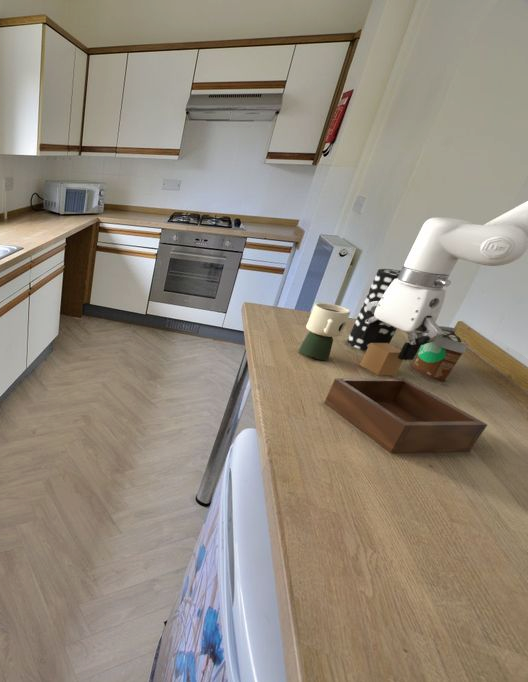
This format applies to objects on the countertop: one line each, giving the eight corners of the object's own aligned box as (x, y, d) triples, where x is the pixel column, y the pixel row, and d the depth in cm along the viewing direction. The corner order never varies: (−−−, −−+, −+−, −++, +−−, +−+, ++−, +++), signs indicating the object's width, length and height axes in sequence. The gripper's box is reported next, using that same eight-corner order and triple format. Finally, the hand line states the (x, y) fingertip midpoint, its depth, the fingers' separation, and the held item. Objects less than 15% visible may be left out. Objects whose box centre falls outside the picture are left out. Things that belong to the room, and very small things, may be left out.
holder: (391, 402, 84) (404, 378, 82) (469, 451, 71) (487, 424, 68) (323, 402, 83) (334, 378, 80) (390, 453, 69) (405, 425, 67)
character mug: (331, 368, 96) (354, 318, 91) (296, 360, 100) (316, 311, 94) (327, 351, 105) (347, 304, 99) (295, 344, 108) (313, 298, 103)
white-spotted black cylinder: (340, 341, 111) (370, 270, 103) (358, 337, 114) (389, 267, 106) (374, 355, 104) (410, 279, 96) (392, 350, 108) (429, 277, 99)
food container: (403, 357, 104) (421, 321, 100) (435, 364, 101) (456, 327, 97) (409, 375, 95) (430, 337, 91) (445, 384, 92) (468, 345, 88)
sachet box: (376, 365, 99) (387, 342, 97) (395, 375, 95) (407, 352, 92) (359, 364, 99) (370, 342, 96) (377, 375, 95) (388, 352, 92)
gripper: (481, 292, 80) (437, 367, 87) (400, 267, 95) (368, 333, 103) (447, 291, 79) (405, 367, 87) (371, 266, 95) (341, 333, 102)
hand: (385, 349), depth 95 cm, fingers open, 9 cm apart
